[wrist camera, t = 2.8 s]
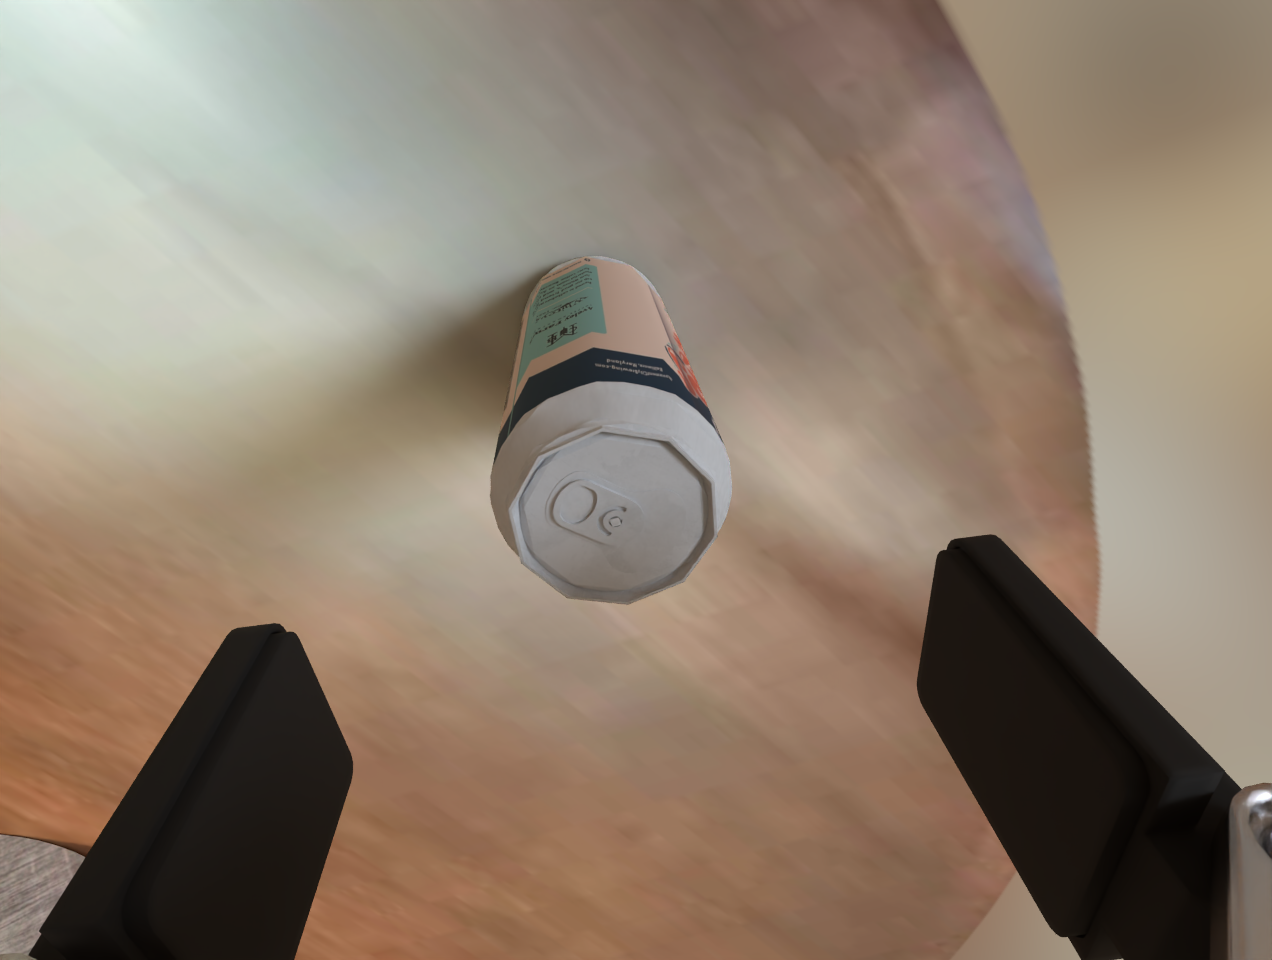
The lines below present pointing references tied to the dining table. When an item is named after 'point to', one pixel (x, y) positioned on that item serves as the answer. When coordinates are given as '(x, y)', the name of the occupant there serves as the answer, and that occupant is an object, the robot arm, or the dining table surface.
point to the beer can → (606, 440)
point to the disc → (30, 888)
